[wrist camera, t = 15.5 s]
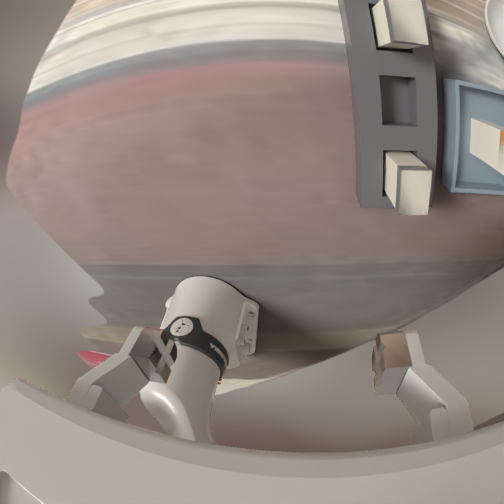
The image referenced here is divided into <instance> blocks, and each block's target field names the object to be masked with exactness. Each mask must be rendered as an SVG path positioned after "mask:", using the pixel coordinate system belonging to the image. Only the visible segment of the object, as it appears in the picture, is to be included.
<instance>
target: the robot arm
mask: <svg viewBox="0 0 504 504" xmlns="http://www.w3.org/2000/svg"><path fill="white" fill-rule="evenodd" d="M166 307H167V311H166V314H165V317H164V319H163V322H162V325H161V327H160V329H158V328H151V327H143V326H135V327H134V328H133V329H132V331H131V333H130V335H129V336H128V338H127V340H126V342H125V343H124V345H123V347H122V349H121V350H120V352H119V353H115V354H114V355H113V356H111V357H110V358H108V359H107V360H105V361H104V362H102V363H101V364H99V365H98V366H96V367H95V368H93V369H92V370H90V371H89V372H87V373H86V374H85V375H83V376H82V377H80V378H78V380H77V382H76V384H75V386H74V387H73V389H72V391H71V392H70V394H69V396H68V398H67V400H65V399H63V398H60V397H58V396H56V395H54V394H52V393H50V392H48V391H46V390H43V389H41V388H39V387H38V386H36V385H34V384H32V383H30V382H28V381H27V380H25V379H22V378H18V379H15V380H14V381H12V382H10V383H9V384H7V385H6V386H4V387H3V388H2V389H0V504H504V421H502V422H499V423H497V424H494V425H491V426H488V427H485V428H482V429H478V430H475V431H474V429H473V424H472V419H471V414H470V409H469V405H468V401H467V400H466V399H465V398H464V397H463V396H462V395H461V394H460V393H459V392H458V391H457V390H456V389H455V388H454V387H453V386H452V385H451V384H450V383H448V381H446V379H444V377H442V376H441V375H440V374H439V373H438V372H437V371H436V370H435V369H434V368H433V367H432V366H431V365H429V364H428V365H426V362H425V358H424V354H423V350H422V347H421V343H420V339H419V336H418V332H417V331H416V330H409V331H395V332H383V333H378V334H377V336H376V346H374V348H373V354H372V368H373V371H374V372H375V373H376V375H375V378H374V386H375V395H377V394H393V393H396V395H397V396H398V397H399V399H400V400H401V402H402V403H403V404H404V405H405V407H406V408H407V410H408V411H409V412H410V414H411V415H412V416H413V418H414V419H415V420H416V421H417V423H418V424H419V426H418V428H417V429H416V430H415V431H414V432H413V434H412V435H411V436H410V437H409V446H403V447H397V448H389V449H380V450H370V451H358V452H341V453H340V452H338V453H294V452H275V451H262V450H252V449H243V448H235V447H227V446H221V445H216V442H215V440H214V436H213V432H212V426H211V413H212V406H213V401H214V396H215V392H216V388H217V384H221V383H219V382H218V381H221V380H222V379H220V378H221V377H222V375H223V374H224V373H225V371H226V369H229V368H234V367H237V366H239V365H240V363H241V361H242V357H243V356H246V355H250V354H253V353H254V352H255V349H256V340H257V328H258V316H259V305H258V304H257V303H256V302H255V301H253V300H250V299H248V298H246V297H244V296H243V295H241V294H240V293H239V292H238V291H237V290H236V289H234V288H233V287H232V286H230V285H229V284H227V283H225V282H223V281H221V280H218V279H215V278H211V277H204V276H197V277H191V278H188V279H185V280H184V281H182V282H181V283H180V284H179V285H178V286H177V288H176V291H175V293H174V295H173V296H172V297H170V298H169V299H168V300H167V302H166ZM139 391H140V397H141V399H142V402H143V403H144V405H145V407H146V408H147V409H148V411H149V412H150V413H151V414H152V415H153V416H154V417H155V418H156V419H157V420H158V421H159V422H160V424H161V425H162V427H163V429H164V431H165V434H162V433H159V432H155V431H151V430H147V429H144V428H140V427H137V426H134V425H130V424H127V423H126V421H127V419H128V415H127V413H126V412H125V411H124V410H123V409H122V408H121V407H123V406H124V405H125V404H126V403H127V402H128V401H129V400H130V399H131V398H133V397H134V396H135V395H136V394H137V393H138V392H139Z"/></svg>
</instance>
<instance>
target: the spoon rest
mask: <svg viewBox="0 0 504 504" xmlns="http://www.w3.org/2000/svg"><path fill="white" fill-rule="evenodd" d="M484 21H485V25H486V28H487V31H488V33H489V36H490V38H491V40H492V42H493V43H494V45H495V46H496V48H497V49H498V51H499V52H500V53H501V55H502V56H503V57H504V0H486V2H485V4H484Z"/></svg>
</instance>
